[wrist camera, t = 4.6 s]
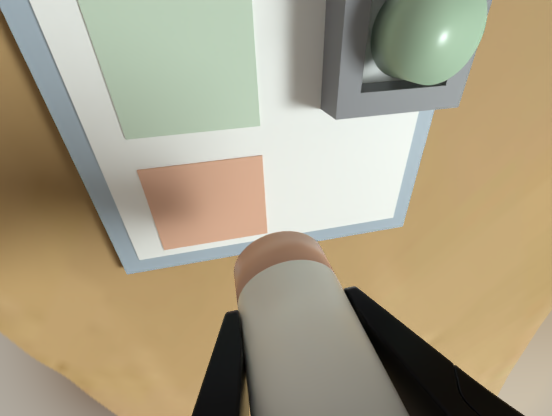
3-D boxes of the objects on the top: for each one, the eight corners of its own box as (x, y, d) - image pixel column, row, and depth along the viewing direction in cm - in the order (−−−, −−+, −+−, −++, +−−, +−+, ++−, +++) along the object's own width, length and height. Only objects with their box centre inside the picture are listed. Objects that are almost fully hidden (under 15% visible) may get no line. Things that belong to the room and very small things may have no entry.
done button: (455, -19, 10) (502, -28, 9) (432, 74, 12) (467, 82, 11) (377, -18, 10) (412, -26, 8) (365, 80, 12) (391, 88, 10)
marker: (326, 224, 10) (542, 576, 4) (320, 289, 12) (454, 593, 6) (228, 239, 10) (277, 690, 3) (239, 305, 12) (283, 664, 5)
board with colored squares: (473, -72, 11) (534, -95, 9) (397, 221, 20) (421, 245, 18) (-31, -80, 9) (-107, -115, 6) (129, 267, 17) (118, 302, 15)
